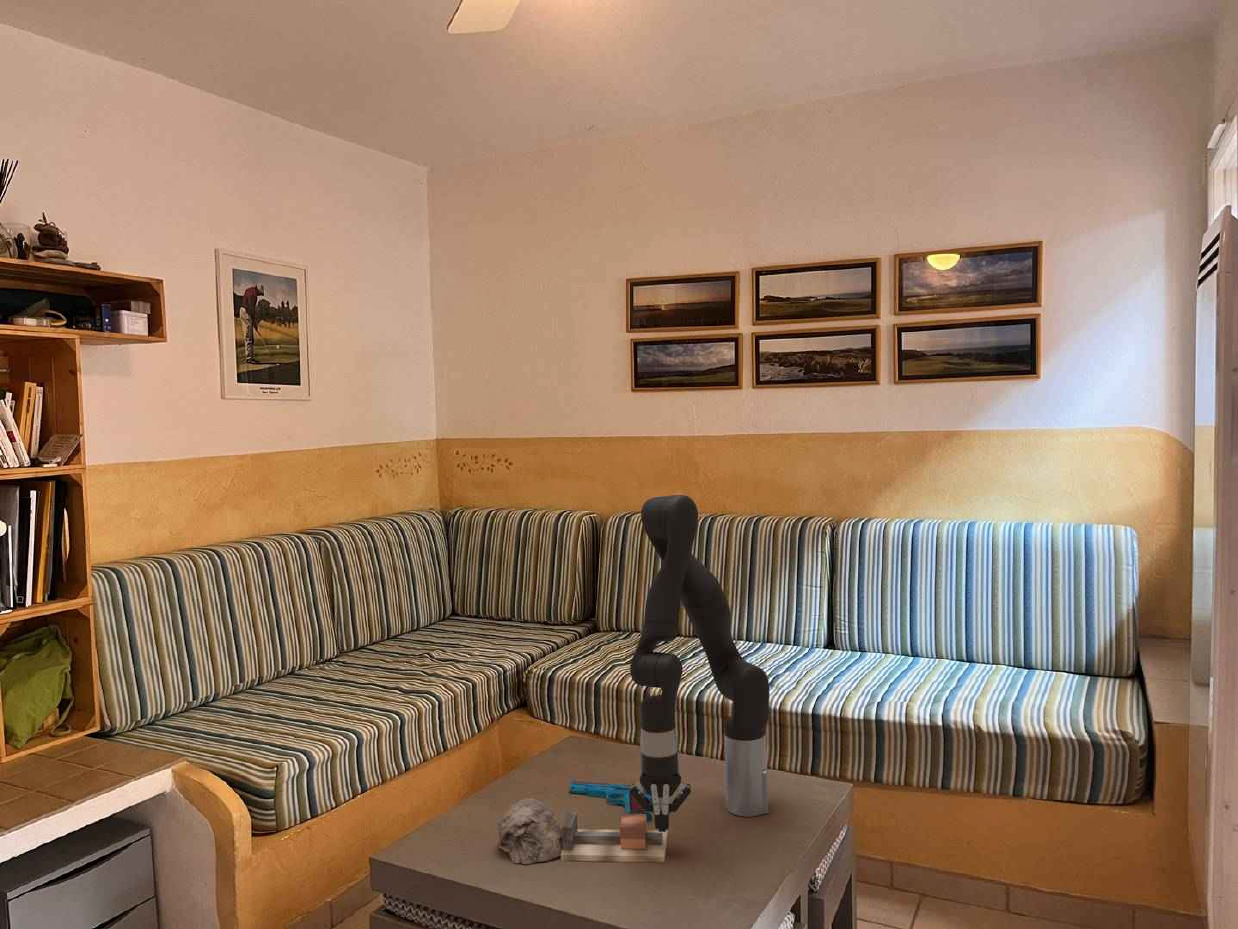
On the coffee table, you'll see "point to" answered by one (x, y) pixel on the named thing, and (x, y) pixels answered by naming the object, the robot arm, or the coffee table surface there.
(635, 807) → the handgun
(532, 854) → the rock
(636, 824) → the slider block
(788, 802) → the coffee table surface
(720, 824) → the coffee table surface
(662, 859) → the rail board
